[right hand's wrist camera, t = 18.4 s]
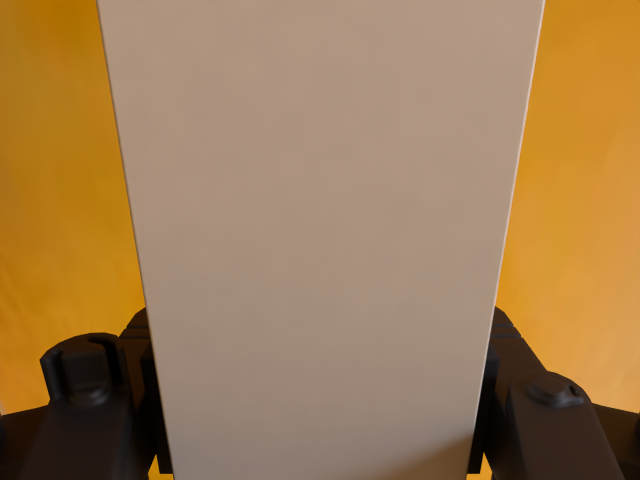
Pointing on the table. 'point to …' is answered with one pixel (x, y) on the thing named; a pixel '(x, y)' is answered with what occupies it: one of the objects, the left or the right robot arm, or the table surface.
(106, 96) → the table surface
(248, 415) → the beam
